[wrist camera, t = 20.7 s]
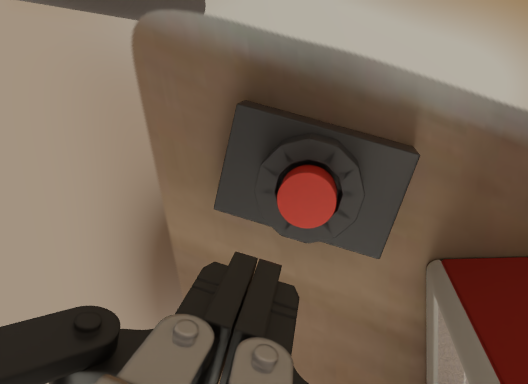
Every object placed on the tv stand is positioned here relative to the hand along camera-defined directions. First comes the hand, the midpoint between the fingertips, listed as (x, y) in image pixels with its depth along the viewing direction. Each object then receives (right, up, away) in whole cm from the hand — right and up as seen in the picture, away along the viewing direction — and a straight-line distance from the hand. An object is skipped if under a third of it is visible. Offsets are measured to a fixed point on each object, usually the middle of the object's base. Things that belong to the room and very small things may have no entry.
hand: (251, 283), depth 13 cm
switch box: (+4, +4, +14) cm, 15 cm away
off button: (+3, +3, +11) cm, 12 cm away
